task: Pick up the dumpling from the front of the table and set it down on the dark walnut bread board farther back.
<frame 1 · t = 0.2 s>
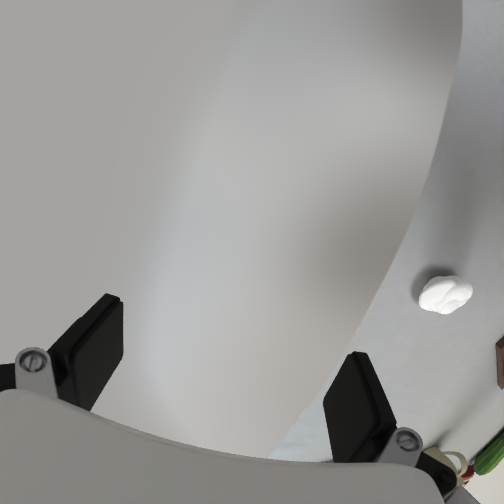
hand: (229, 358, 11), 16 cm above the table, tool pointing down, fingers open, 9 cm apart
dumpling: (435, 287, 26), on the table
dentures: (469, 472, 40), point 3 cm above the table
vegetable: (496, 437, 39), on the table
mug: (428, 450, 37), on the table
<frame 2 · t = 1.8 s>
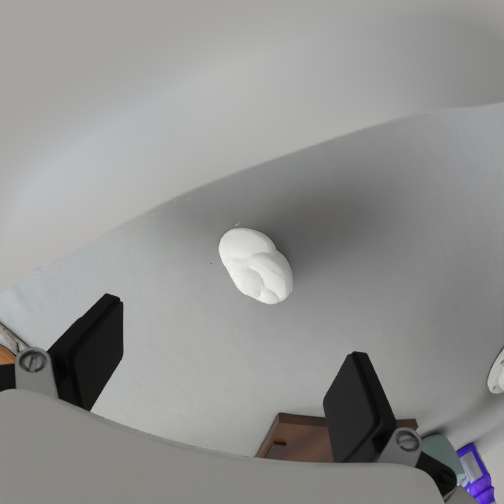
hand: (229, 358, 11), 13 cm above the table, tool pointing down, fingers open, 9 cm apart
nutcracker: (16, 336, 29), on the table
bread board: (334, 447, 31), on the table
dumpling: (255, 257, 24), on the table
bottle: (461, 451, 34), on the table
cup: (424, 441, 32), on the table
saucer: (9, 391, 30), point 3 cm above the table
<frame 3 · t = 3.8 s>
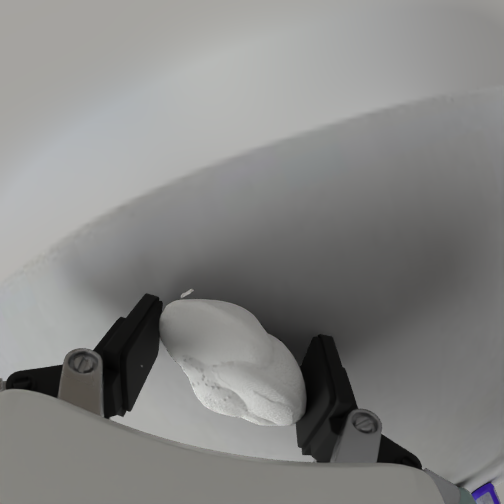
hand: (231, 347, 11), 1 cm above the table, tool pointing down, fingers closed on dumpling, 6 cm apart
dumpling: (234, 336, 12), on the table, touching gripper
bottle: (477, 490, 24), on the table
cup: (443, 494, 21), on the table
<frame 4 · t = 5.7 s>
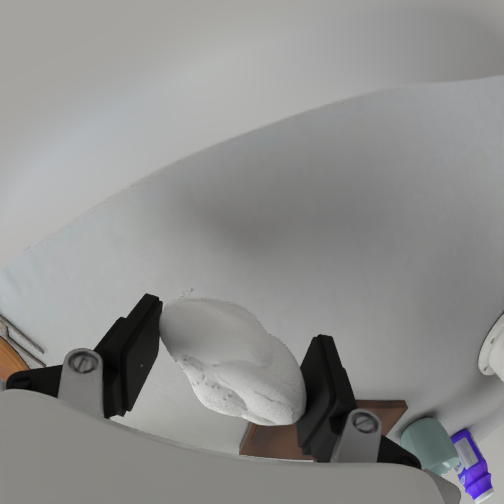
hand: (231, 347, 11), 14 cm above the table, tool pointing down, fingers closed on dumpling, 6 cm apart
nutcracker: (6, 320, 29), on the table
bread board: (322, 429, 33), on the table
dumpling: (234, 336, 12), point 13 cm above the table, touching gripper
bottle: (455, 437, 37), on the table
cup: (415, 425, 34), on the table
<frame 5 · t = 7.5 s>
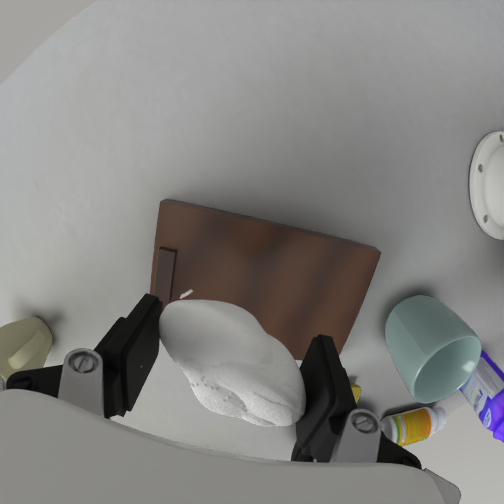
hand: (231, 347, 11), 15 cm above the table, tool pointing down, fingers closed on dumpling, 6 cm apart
alarm clock: (332, 420, 33), on the table
bread board: (257, 288, 27), on the table
dumpling: (233, 337, 12), point 15 cm above the table, touching gripper
bottle: (468, 365, 31), on the table
cup: (406, 315, 28), on the table
mug: (43, 327, 31), on the table
supplement bottle: (384, 434, 31), point 3 cm above the table
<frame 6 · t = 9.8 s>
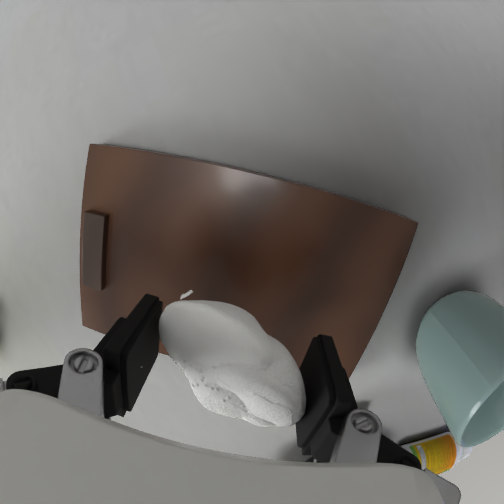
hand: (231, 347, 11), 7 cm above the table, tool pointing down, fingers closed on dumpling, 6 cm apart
bread board: (229, 275, 18), on the table
dumpling: (234, 337, 12), point 6 cm above the table, touching gripper
cup: (442, 319, 19), on the table
supplement bottle: (398, 467, 22), point 3 cm above the table
when the fingers open (2 cm above the table, at t = 11.5 s): dumpling stays where it is, resting on bread board.
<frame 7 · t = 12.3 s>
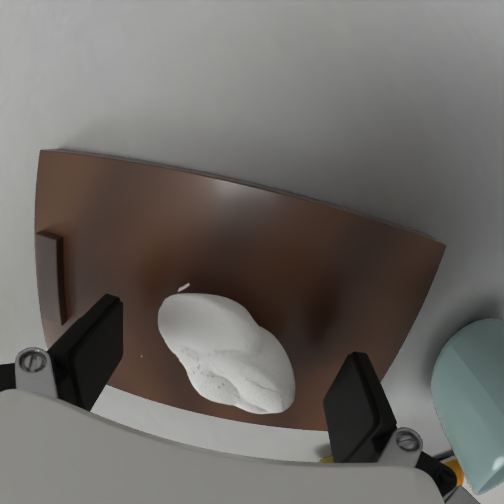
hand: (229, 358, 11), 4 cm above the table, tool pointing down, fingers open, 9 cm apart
bread board: (211, 310, 14), on the table
dumpling: (228, 330, 13), point 1 cm above the table, touching bread board
cup: (460, 349, 15), on the table
supplement bottle: (402, 494, 18), point 3 cm above the table
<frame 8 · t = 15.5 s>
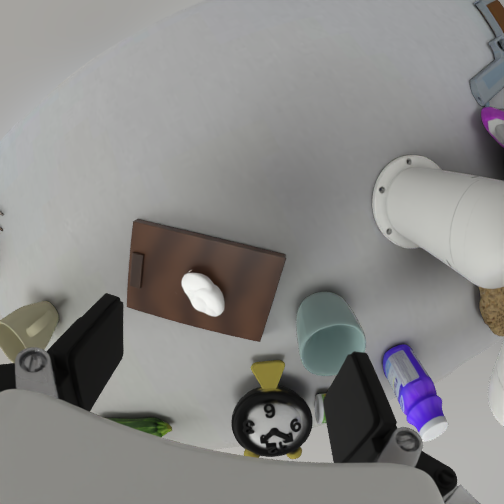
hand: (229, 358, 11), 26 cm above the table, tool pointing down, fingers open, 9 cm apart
alarm clock: (270, 391, 45), on the table
bread board: (200, 281, 39), on the table
dumpling: (205, 287, 37), point 1 cm above the table, touching bread board
handgun: (465, 5, 21), point 2 cm above the table
vegetable: (135, 421, 50), on the table
sponge: (494, 286, 38), on the table
bottle: (395, 357, 42), on the table
cup: (319, 307, 39), on the table
mug: (51, 309, 42), on the table
supplement bottle: (315, 409, 42), point 3 cm above the table
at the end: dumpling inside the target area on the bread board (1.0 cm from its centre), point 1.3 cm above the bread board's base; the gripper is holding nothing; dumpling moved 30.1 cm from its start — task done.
